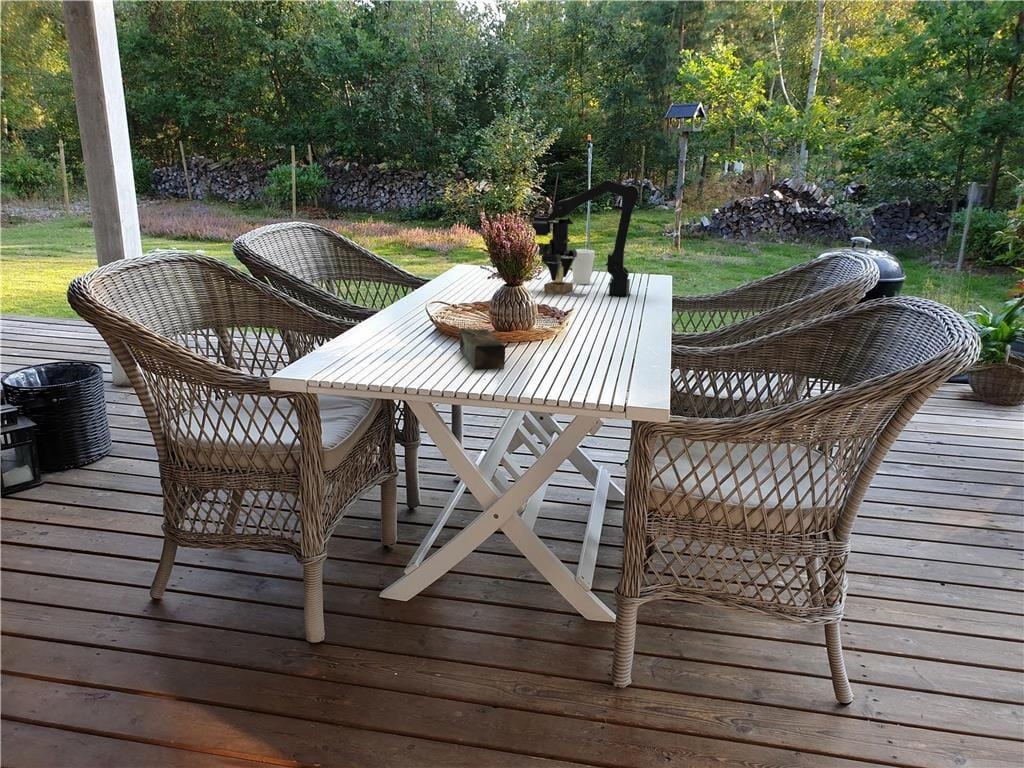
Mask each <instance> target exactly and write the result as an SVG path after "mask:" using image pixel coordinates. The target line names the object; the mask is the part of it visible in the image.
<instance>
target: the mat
mask: <svg viewBox="0 0 1024 768" xmlns="http://www.w3.org/2000/svg"><path fill="white" fill-rule="evenodd" d="M589 295H590V294H589V293H580V292H579V293H578V292H571V293H568V294H566V295H563V296H564V297H571V298H578V299H579V298H580V299H581V298H584V297H587V296H589Z"/></svg>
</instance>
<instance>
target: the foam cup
mask: <svg viewBox="0 0 1024 768" xmlns="http://www.w3.org/2000/svg"><path fill="white" fill-rule="evenodd" d="M575 250H576V251H577V257H575V260H574V261H573V263H572V265H571V268H572V278H573V282H572V283H573V284H574V283H576V284H589V283H591V277H592V273H593V266H594V260H595V256H596V252H595V250H592V249H583V248H582V249H580V248H579V249H575ZM572 258H573V257H572ZM589 285H590V284H589Z"/></svg>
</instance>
